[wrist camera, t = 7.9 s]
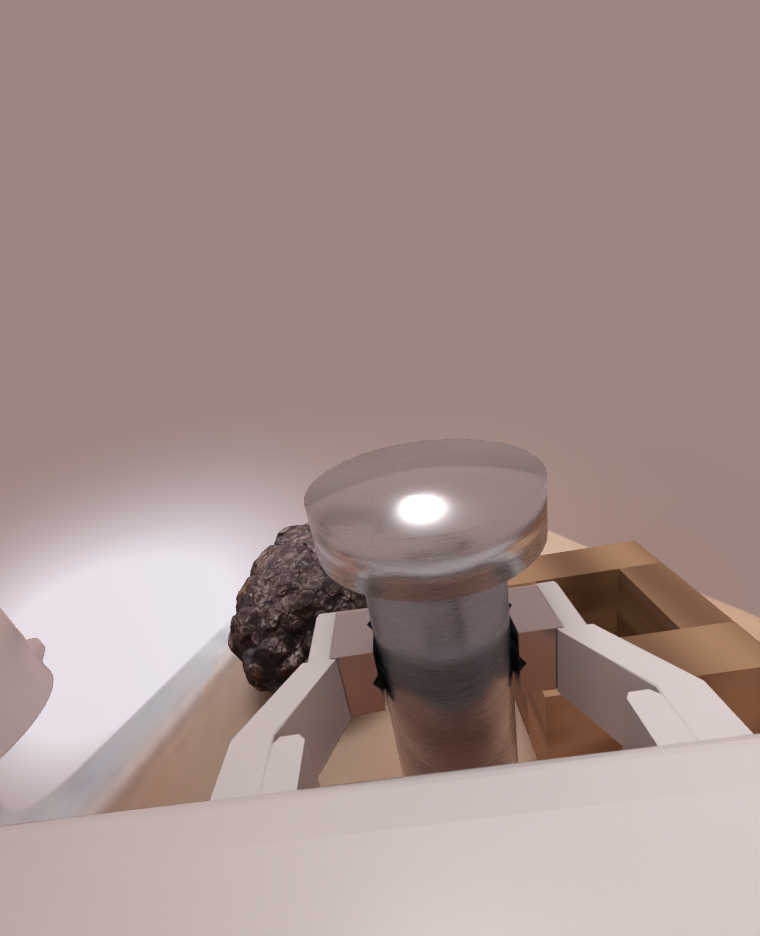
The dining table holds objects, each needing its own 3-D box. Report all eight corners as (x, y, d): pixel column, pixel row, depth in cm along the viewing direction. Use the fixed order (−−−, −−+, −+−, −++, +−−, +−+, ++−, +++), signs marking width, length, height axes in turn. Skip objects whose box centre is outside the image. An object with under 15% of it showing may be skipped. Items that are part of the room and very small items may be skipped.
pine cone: (353, 561, 41) (333, 472, 37) (424, 700, 24) (399, 564, 21) (252, 594, 38) (220, 502, 35) (255, 775, 22) (195, 635, 18)
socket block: (549, 788, 19) (545, 697, 17) (490, 634, 28) (483, 564, 26) (763, 760, 18) (785, 663, 16) (631, 613, 28) (634, 540, 26)
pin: (382, 914, 9) (278, 557, 6) (380, 721, 14) (320, 456, 10) (587, 893, 9) (601, 509, 6) (516, 704, 14) (501, 428, 10)
